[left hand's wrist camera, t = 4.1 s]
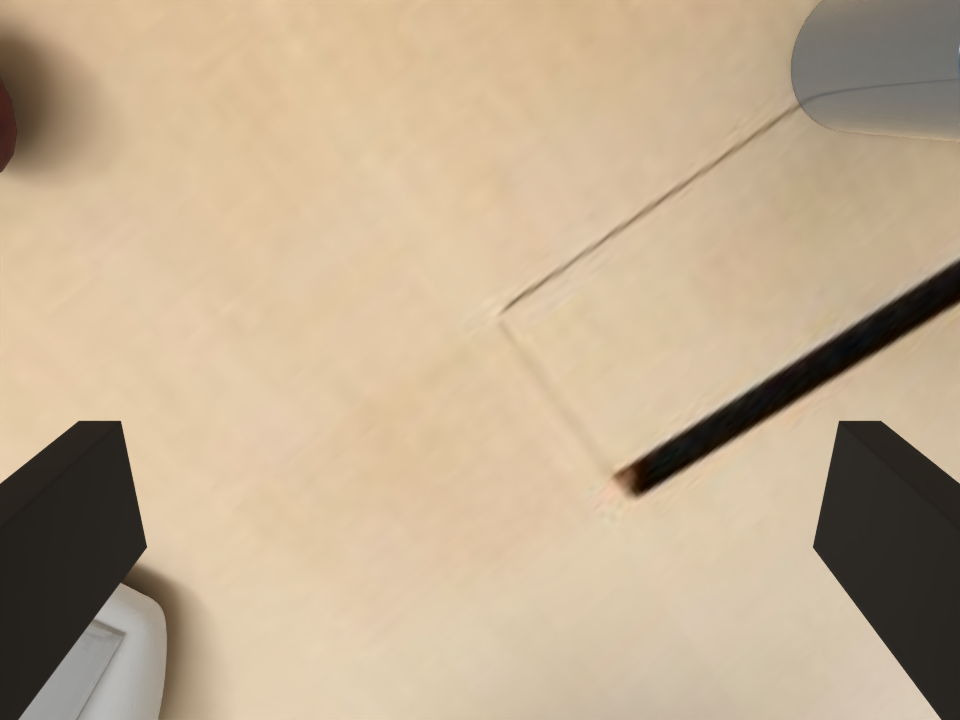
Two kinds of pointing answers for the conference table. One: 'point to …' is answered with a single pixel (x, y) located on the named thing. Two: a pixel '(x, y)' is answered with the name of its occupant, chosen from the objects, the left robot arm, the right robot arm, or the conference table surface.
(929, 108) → the bottle
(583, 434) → the conference table surface
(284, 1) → the conference table surface
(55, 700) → the projector
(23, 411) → the conference table surface
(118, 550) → the left robot arm
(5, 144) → the dark maroon ball
